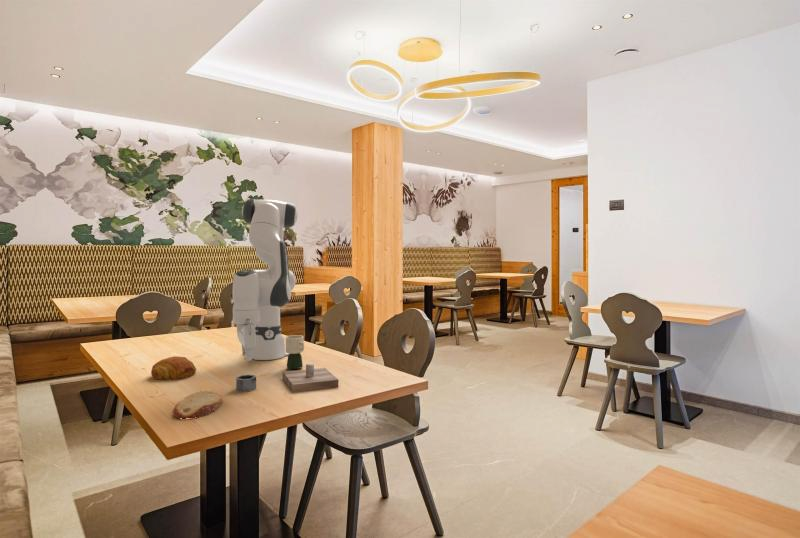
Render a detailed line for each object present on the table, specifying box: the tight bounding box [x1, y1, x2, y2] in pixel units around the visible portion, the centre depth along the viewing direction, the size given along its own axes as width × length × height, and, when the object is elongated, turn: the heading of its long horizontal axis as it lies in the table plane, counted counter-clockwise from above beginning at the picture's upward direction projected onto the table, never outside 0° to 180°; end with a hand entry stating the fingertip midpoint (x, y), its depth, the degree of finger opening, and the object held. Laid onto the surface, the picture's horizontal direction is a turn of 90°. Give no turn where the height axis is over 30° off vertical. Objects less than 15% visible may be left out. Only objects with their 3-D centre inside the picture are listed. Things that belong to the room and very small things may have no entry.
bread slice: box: [172, 390, 223, 419], centre depth 144 cm, size 18×18×4 cm
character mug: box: [285, 334, 305, 370], centre depth 191 cm, size 11×7×13 cm, turn 52°
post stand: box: [282, 363, 339, 393], centre depth 171 cm, size 18×16×6 cm
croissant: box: [150, 356, 197, 381], centre depth 180 cm, size 14×16×8 cm
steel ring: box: [235, 374, 257, 393], centre depth 163 cm, size 6×6×4 cm
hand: (246, 357), depth 163 cm, fingers open, 8 cm apart
